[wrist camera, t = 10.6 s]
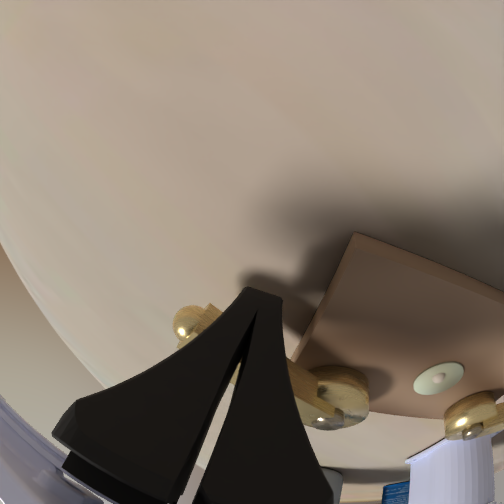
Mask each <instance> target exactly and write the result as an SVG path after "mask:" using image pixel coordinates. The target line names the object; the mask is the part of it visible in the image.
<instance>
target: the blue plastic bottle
mask: <svg viewBox="0 0 504 504" xmlns="http://www.w3.org/2000/svg"><path fill="white" fill-rule="evenodd" d="M409 489H410V481H409V482H404V483H398V484H393V485H388V486H384V487H383V495H382V503H381V504H408V501H409Z"/></svg>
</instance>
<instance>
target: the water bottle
mask: <svg viewBox="0 0 504 504" xmlns="http://www.w3.org/2000/svg"><path fill="white" fill-rule="evenodd" d="M321 469H322V471H323V473H324V475H325V477H326V479H327V480H328V482H329V484H330V486H331V488H332V490H333V492H334V504H339V502H340V496H341V491H342V485H343V476H342V475H341V474H340V473H338V472H336V471H334V470H331V469H326V468H321Z"/></svg>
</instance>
